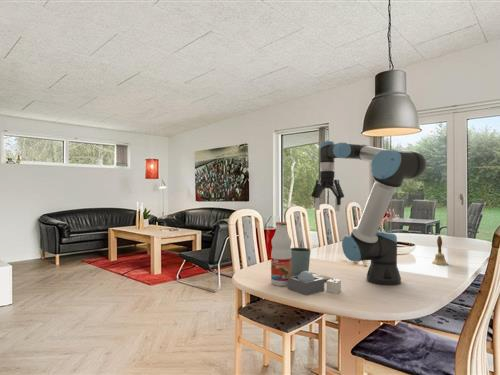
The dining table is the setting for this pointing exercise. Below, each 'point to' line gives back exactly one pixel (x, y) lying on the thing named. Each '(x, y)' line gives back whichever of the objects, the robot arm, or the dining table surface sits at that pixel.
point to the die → (333, 285)
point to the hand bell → (439, 254)
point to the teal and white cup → (300, 260)
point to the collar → (306, 285)
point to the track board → (319, 276)
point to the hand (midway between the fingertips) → (327, 210)
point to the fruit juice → (281, 256)
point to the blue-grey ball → (305, 276)
